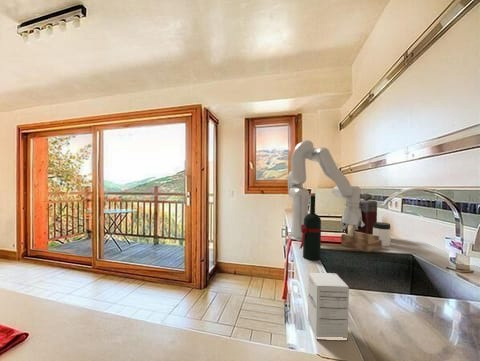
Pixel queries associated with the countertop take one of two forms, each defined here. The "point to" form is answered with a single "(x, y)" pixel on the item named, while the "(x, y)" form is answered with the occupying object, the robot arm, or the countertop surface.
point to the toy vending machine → (368, 214)
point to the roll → (351, 229)
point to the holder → (361, 241)
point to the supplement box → (328, 305)
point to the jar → (382, 232)
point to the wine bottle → (311, 234)
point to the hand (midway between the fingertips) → (352, 234)
